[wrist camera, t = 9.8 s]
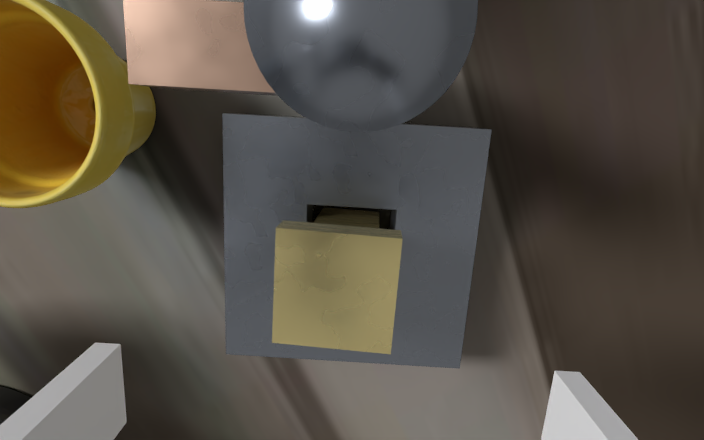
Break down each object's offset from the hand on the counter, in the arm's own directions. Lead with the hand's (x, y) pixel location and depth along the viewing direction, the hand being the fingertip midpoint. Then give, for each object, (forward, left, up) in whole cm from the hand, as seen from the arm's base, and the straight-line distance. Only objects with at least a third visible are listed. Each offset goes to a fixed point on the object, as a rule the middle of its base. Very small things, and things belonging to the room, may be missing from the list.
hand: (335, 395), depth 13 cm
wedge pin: (0, 0, -19) cm, 19 cm away
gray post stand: (0, +2, -19) cm, 19 cm away
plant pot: (-17, +8, -19) cm, 27 cm away
